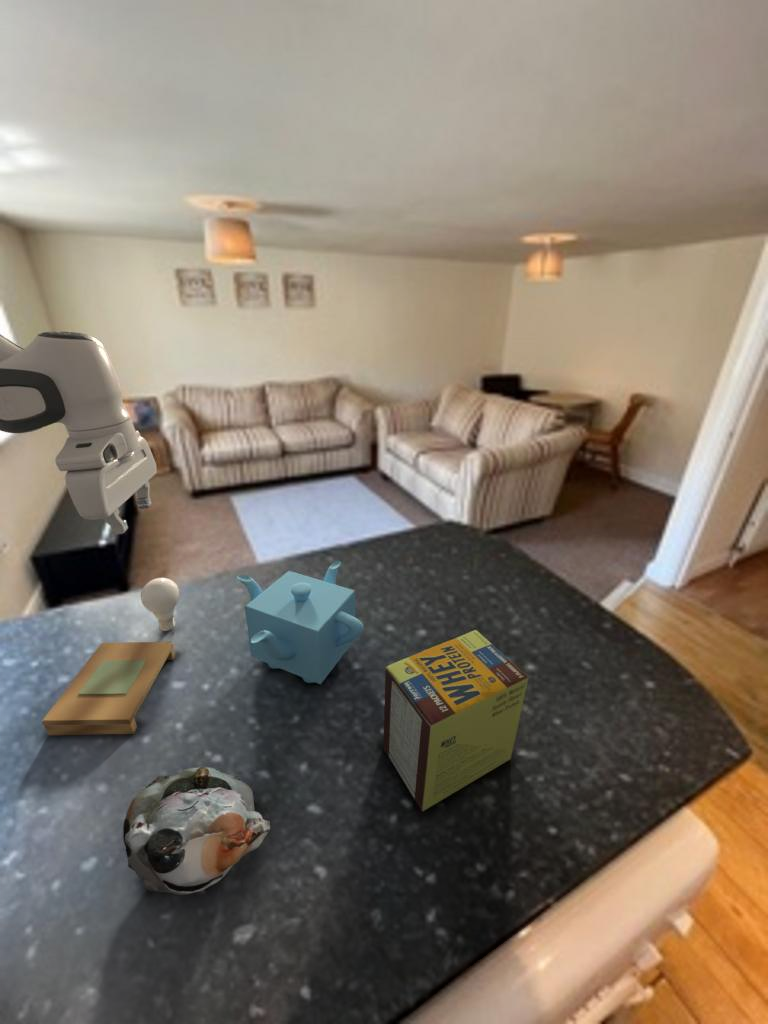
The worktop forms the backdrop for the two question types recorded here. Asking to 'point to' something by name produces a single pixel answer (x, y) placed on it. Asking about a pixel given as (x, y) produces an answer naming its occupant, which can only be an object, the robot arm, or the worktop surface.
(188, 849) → the lucky cat figurine
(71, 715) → the shelf
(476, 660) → the protein box
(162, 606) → the lightbulb
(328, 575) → the teakettle
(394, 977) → the worktop surface
